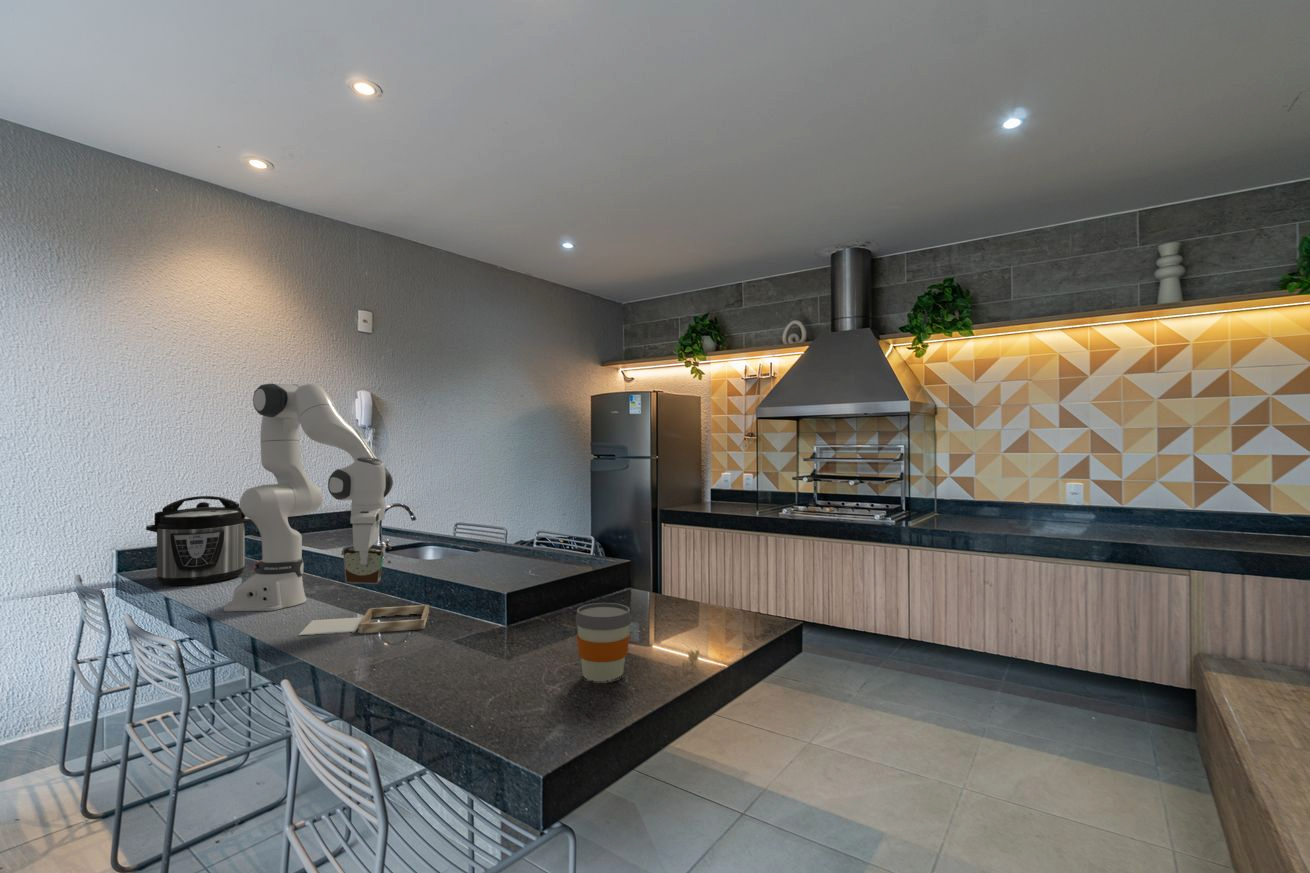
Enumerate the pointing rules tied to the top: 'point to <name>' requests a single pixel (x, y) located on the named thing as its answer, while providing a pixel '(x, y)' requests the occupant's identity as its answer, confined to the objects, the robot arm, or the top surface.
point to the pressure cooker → (200, 542)
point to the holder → (393, 625)
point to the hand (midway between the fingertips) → (366, 561)
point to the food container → (363, 565)
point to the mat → (332, 626)
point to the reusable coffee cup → (603, 639)
